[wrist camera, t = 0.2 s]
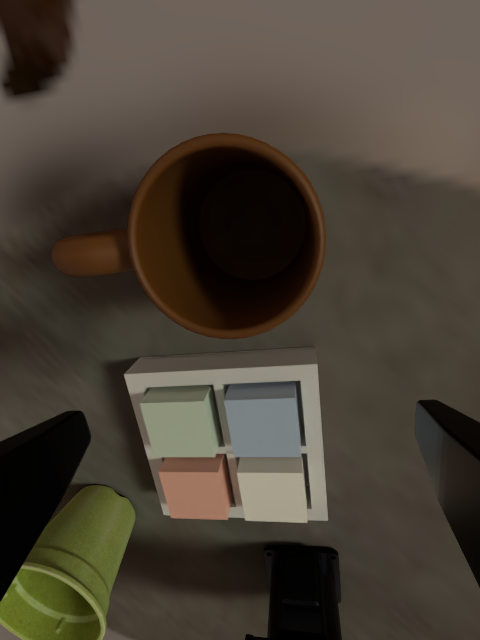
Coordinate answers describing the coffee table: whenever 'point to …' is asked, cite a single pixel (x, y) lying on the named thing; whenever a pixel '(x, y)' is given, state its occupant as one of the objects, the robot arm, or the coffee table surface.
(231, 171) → the mug
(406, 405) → the coffee table surface
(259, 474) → the key cream
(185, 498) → the key coral
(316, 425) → the keypad
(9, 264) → the coffee table surface
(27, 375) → the coffee table surface
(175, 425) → the key sage
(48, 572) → the plant pot
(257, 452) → the key slate
